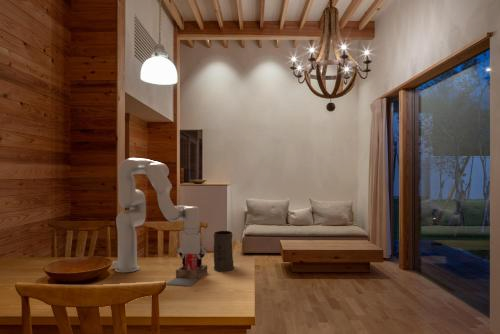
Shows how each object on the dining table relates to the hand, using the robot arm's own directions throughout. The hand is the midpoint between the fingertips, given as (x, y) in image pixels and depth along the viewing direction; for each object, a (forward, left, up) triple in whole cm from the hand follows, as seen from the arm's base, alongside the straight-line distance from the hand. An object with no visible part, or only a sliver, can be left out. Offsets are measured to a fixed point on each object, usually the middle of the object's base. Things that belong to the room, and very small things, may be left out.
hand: (192, 266), depth 187 cm
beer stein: (+12, +17, -5) cm, 21 cm away
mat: (0, -12, -5) cm, 13 cm away
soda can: (0, 0, -5) cm, 5 cm away
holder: (0, 0, -5) cm, 5 cm away
